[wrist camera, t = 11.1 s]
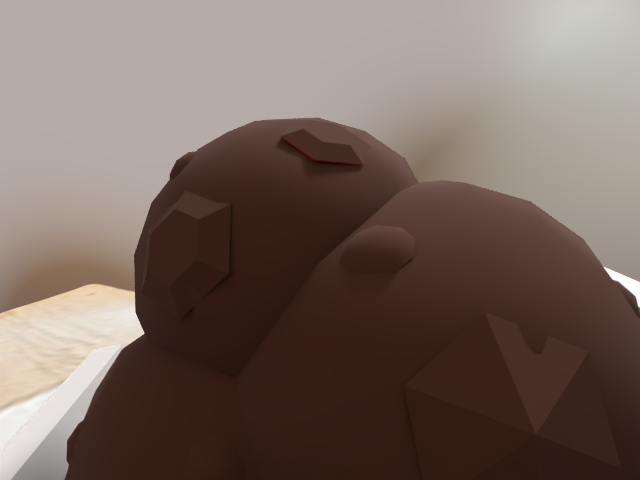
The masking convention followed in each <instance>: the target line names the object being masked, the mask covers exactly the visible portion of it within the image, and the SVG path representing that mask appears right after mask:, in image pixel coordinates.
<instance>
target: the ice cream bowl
mask: <svg viewBox="0 0 640 480" xmlns="http://www.w3.org/2000/svg"><path fill="white" fill-rule="evenodd" d="M134 263H135V309H136V314H137V317H138V319H139V321H140V324H141V326H142V328H143V331H144V333H145V334H144V335H142V336H141V337H139V338H138V339H136V340H135V341H133V342H132V343H131V344H129V345H128V346H126V347H125V348H123V349H122V350H121V352H120V353H119V355H118V356H117V358H116V359H115V361H114V363H113V364H112V366H111V367H110V369H109V370H108V372H107V374H106V375H105V377H104V378H103V380H102V381H101V383H100V385H99V386H98V388H97V389H96V391H95V393H94V395H93V398H92V400H91V403H90V405H89V408H88V410H87V413H86V415H85V417H84V420H83V421H81V422H80V423H79V424H78V425H77V427H76V428H75V430H74V431H73V433H72V434H71V435H70V437H69V438H68V440H67V455H66V460H67V462H68V464H69V466H68V470H67V474H66V477H65V480H640V311H639V307H638V303H637V299H636V296H635V295H634V294H633V293H631V292H630V291H629V290H628V289H627V288H626V287H625V286H623V285H622V284H621V283H620V282H619V281H616V280H613V279H612V278H611V277H610V275H609V274H608V273H607V271H606V270H605V268H604V267H603V266H602V264H601V263H600V261H599V260H598V259H597V258H596V256H595V255H594V253H593V252H592V251H591V249H590V248H589V246H588V245H587V244H586V242H585V241H584V240H583V239H582V238H581V237H580V236H578V235H577V234H575V233H574V232H572V231H571V230H570V229H568V228H567V227H565V226H564V225H563V224H561V223H560V222H559V221H557V220H556V219H554V218H553V217H552V216H550V215H549V214H547V213H546V212H545V211H543V210H542V209H540V208H539V207H537V206H536V205H535V204H533V203H532V202H530V201H527V200H523V199H520V198H516V197H513V196H509V195H506V194H502V193H499V192H495V191H492V190H488V189H485V188H481V187H478V186H475V185H471V184H467V183H462V182H451V181H433V182H422V183H418V181H417V179H416V177H415V176H414V174H413V172H412V170H411V168H410V167H409V165H408V163H407V162H406V160H405V158H403V157H402V156H400V155H399V154H398V153H396V152H395V151H393V150H391V149H390V148H389V147H387V146H386V145H384V144H383V143H381V142H380V141H378V140H377V139H375V138H374V137H373V136H371V135H370V134H368V133H367V132H365V131H362V130H359V129H356V128H352V127H349V126H345V125H342V124H338V123H334V122H331V121H328V120H324V119H321V118H299V119H277V120H262V121H254V122H252V123H249V124H247V125H245V126H242V127H239V128H237V129H234V130H232V131H229V132H227V133H225V134H224V135H222V136H220V137H219V138H217V139H215V140H213V141H211V142H210V143H208V144H206V145H205V146H203V147H201V148H199V149H198V150H197V151H196V152H188V153H187V154H185V155H184V156H182V157H181V158H180V159H178V160H177V161H176V163H175V165H174V167H173V169H172V171H171V173H170V180H169V181H168V182H167V184H166V185H165V186H164V188H163V189H162V190H161V192H160V193H159V194H158V195H157V197H156V198H155V199H154V200H153V202H152V203H151V206H150V209H149V212H148V215H147V218H146V221H145V224H144V227H143V230H142V233H141V236H140V239H139V242H138V245H137V249H136V251H135V254H134Z"/></svg>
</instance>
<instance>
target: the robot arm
mask: <svg viewBox="0 0 640 480" xmlns="http://www.w3.org/2000/svg"><path fill="white" fill-rule="evenodd" d="M604 268H605V267H604ZM605 270H606V271H607V273H608V274H609V275H610V277H611V278H612V279H613V280H616V281H619V282H620V283H621V284H622V285H623V286H625V287H626V288H627V289H628V290H629V291H630V292H631V293H633V294H634V295H635V296H636V299H637V303H638V307H639V311H640V282H638V281H635V280H633V279H631V278H628V277H626V276H624V275H621V274H619V273H617V272H614V271H612V270H610V269H607V268H605ZM123 348H124V345H123V344H118V345H113V346H108V347H103V348H98V349H94V350H93V351H92V352H91V354H90V355H89V356H88V357H87V358H86V359H85V360H84V361H83V362H82V363H81V364H80V365H79V366H78V367H77V368H76V370H75V371H74V372H73V373H72V374H71V375H70V376H69V377H68V378H67V379H66V380H65V381H64V382H63V383H62V385H61V386H60V387H59V388H58V389H57V390H56V391H55V392H54V393H53V394H52V395H51V396H50V397H49V398H48V400H47V401H46V402H45V403H44V404H43V405H42V406H41V407H40V408H39V409H38V410H37V411H36V412H35V413H34V414H33V416H32V417H31V418H30V419H29V420H28V421H27V422H26V423H25V424H24V425H23V426H22V427H21V428H20V429H19V431H18V432H17V433H16V434H15V435H14V436H13V437H12V438H11V439H10V440H9V441H8V442H7V443H6V444H5V445H4V447H3V448H2V449H1V450H0V480H65V477H66V474H67V470H68V466H69V464H68V462H67V460H66V455H67V440H68V438H69V437H70V435H71V434H72V433H73V431H74V430H75V428H76V427H77V425H78V424H79V423H80V422H81V421H83V420H84V417H85V415H86V413H87V410H88V408H89V405H90V403H91V400H92V398H93V395H94V393H95V391H96V389H97V388H98V386H99V385H100V383H101V381H102V380H103V378H104V377H105V375H106V374H107V372H108V370H109V369H110V367H111V366H112V364H113V363H114V361H115V359H116V358H117V356H118V355H119V353H120V352H121V350H122V349H123Z"/></svg>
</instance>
